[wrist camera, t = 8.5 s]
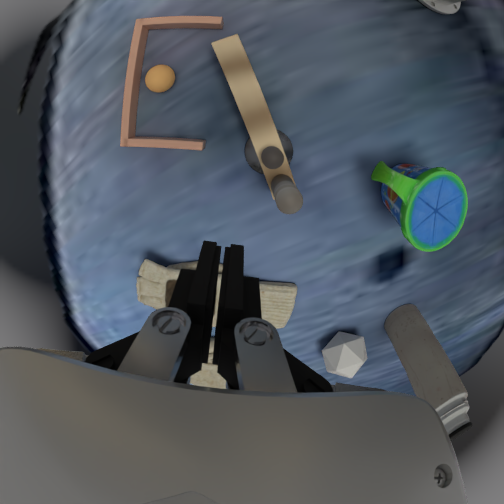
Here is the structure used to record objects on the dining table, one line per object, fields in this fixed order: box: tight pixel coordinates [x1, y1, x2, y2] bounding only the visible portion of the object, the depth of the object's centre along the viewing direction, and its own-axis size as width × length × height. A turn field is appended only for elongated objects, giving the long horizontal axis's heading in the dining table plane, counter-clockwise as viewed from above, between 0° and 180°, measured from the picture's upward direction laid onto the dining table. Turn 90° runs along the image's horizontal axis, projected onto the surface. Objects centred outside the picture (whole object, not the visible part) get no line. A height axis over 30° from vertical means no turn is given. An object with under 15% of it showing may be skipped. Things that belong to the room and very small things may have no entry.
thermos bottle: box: [384, 304, 472, 441], centre depth 36 cm, size 8×8×28 cm
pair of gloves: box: [136, 259, 297, 389], centre depth 46 cm, size 30×26×5 cm
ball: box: [145, 65, 175, 92], centre depth 26 cm, size 4×4×4 cm
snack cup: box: [371, 161, 468, 252], centre depth 31 cm, size 16×10×10 cm
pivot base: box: [245, 130, 293, 174], centre depth 33 cm, size 6×6×1 cm
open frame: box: [120, 16, 224, 150], centre depth 27 cm, size 17×10×2 cm, turn 172°
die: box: [322, 331, 367, 378], centre depth 47 cm, size 8×9×10 cm
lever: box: [211, 34, 303, 214], centre depth 26 cm, size 20×3×9 cm, turn 20°
